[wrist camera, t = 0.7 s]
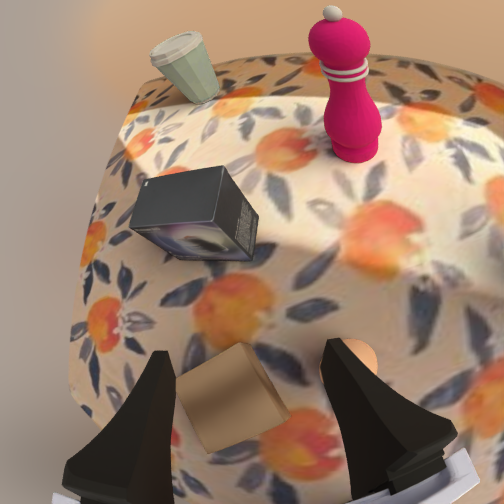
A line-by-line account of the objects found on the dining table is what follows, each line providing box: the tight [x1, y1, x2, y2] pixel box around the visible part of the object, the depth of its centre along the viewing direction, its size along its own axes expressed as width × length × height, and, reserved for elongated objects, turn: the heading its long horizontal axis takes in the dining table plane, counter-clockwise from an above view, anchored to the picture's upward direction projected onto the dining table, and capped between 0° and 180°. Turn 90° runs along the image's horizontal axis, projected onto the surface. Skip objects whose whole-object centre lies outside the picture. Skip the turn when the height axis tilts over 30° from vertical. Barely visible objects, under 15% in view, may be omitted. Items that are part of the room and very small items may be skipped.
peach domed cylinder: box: [319, 339, 378, 384], centre depth 22 cm, size 5×5×6 cm
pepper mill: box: [308, 6, 382, 163], centre depth 25 cm, size 7×7×20 cm
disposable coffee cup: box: [149, 31, 220, 104], centre depth 44 cm, size 11×11×15 cm
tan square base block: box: [176, 342, 291, 454], centre depth 25 cm, size 9×9×3 cm
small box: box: [129, 165, 259, 261], centre depth 31 cm, size 11×6×10 cm, turn 83°
